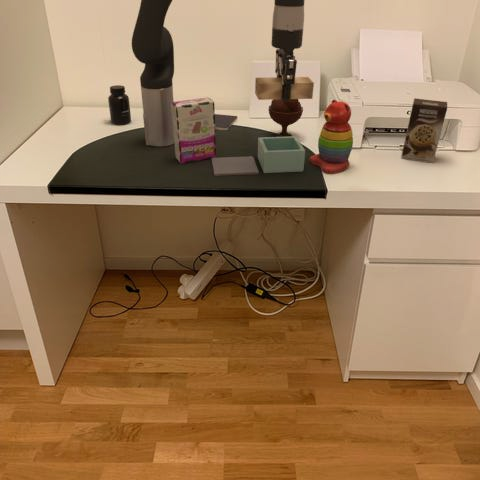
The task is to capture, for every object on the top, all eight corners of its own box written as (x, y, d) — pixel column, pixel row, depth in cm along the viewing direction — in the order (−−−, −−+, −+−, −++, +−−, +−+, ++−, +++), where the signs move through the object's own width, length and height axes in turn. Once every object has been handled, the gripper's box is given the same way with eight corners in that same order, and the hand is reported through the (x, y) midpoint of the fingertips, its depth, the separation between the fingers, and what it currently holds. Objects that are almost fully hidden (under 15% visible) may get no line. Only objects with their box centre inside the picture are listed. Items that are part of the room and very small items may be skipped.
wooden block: (258, 99, 119) (259, 83, 117) (255, 93, 124) (255, 77, 122) (312, 98, 121) (313, 82, 118) (306, 92, 126) (308, 76, 123)
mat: (214, 175, 125) (214, 173, 125) (211, 159, 135) (211, 157, 134) (258, 174, 127) (258, 172, 126) (252, 158, 136) (252, 156, 136)
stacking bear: (306, 160, 135) (311, 98, 125) (335, 155, 138) (343, 94, 129) (327, 175, 127) (334, 110, 117) (357, 169, 130) (367, 105, 120)
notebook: (237, 120, 166) (181, 114, 171) (237, 115, 165) (180, 110, 170) (227, 132, 156) (167, 126, 160) (227, 127, 155) (167, 121, 159)
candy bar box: (210, 151, 140) (208, 96, 131) (216, 157, 136) (215, 101, 127) (174, 157, 136) (170, 101, 127) (180, 164, 132) (176, 106, 123)
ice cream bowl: (300, 132, 155) (304, 85, 147) (300, 144, 146) (304, 95, 137) (268, 130, 156) (270, 84, 148) (266, 142, 146) (268, 94, 138)
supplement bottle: (129, 125, 159) (124, 89, 152) (109, 125, 159) (103, 89, 152) (133, 119, 164) (129, 84, 158) (114, 119, 165) (109, 84, 158)
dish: (263, 173, 127) (264, 152, 124) (257, 157, 137) (258, 137, 133) (303, 171, 129) (305, 150, 125) (294, 155, 138) (296, 136, 134)
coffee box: (400, 158, 137) (412, 103, 128) (402, 151, 142) (413, 97, 133) (433, 163, 134) (447, 107, 125) (434, 155, 139) (447, 100, 130)
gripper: (267, 21, 119) (264, 88, 128) (278, 31, 107) (274, 104, 116) (296, 21, 120) (291, 88, 129) (310, 30, 108) (303, 103, 117)
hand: (283, 95), depth 122 cm, fingers closed on wooden block, 6 cm apart
